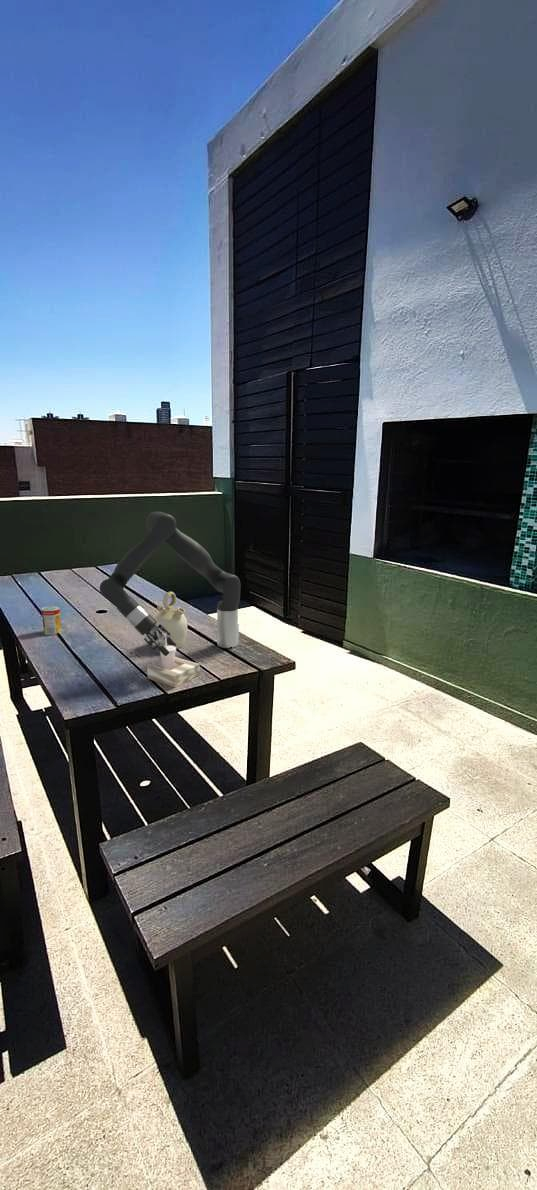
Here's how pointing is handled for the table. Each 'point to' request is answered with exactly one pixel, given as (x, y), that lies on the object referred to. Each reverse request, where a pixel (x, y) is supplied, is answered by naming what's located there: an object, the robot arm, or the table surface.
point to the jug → (172, 620)
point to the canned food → (51, 620)
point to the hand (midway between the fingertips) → (171, 650)
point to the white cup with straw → (168, 657)
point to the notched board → (174, 672)
